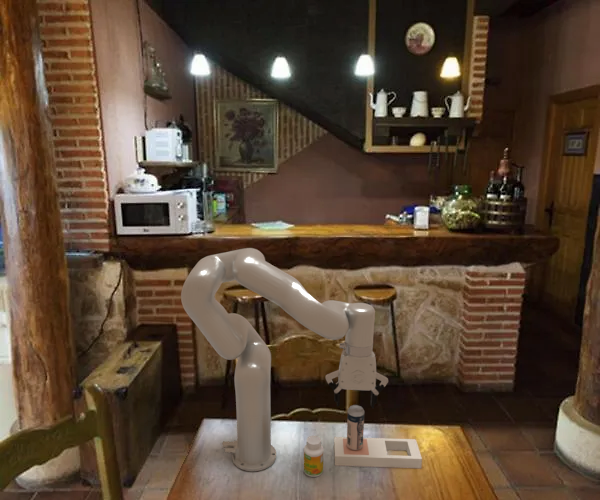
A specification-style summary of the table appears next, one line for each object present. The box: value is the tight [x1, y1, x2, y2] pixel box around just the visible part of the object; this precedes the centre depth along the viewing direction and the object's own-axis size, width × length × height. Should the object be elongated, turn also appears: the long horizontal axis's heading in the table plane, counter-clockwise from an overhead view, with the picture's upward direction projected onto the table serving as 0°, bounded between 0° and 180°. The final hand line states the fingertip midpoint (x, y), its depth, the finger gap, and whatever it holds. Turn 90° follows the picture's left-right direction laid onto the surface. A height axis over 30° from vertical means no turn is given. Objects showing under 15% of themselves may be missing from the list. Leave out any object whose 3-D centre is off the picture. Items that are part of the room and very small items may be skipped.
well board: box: [333, 436, 423, 469], centre depth 139 cm, size 24×9×3 cm, turn 88°
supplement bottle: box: [303, 435, 325, 478], centre depth 132 cm, size 5×5×10 cm
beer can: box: [346, 404, 365, 450], centre depth 138 cm, size 5×5×12 cm
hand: (355, 404), depth 136 cm, fingers open, 9 cm apart
